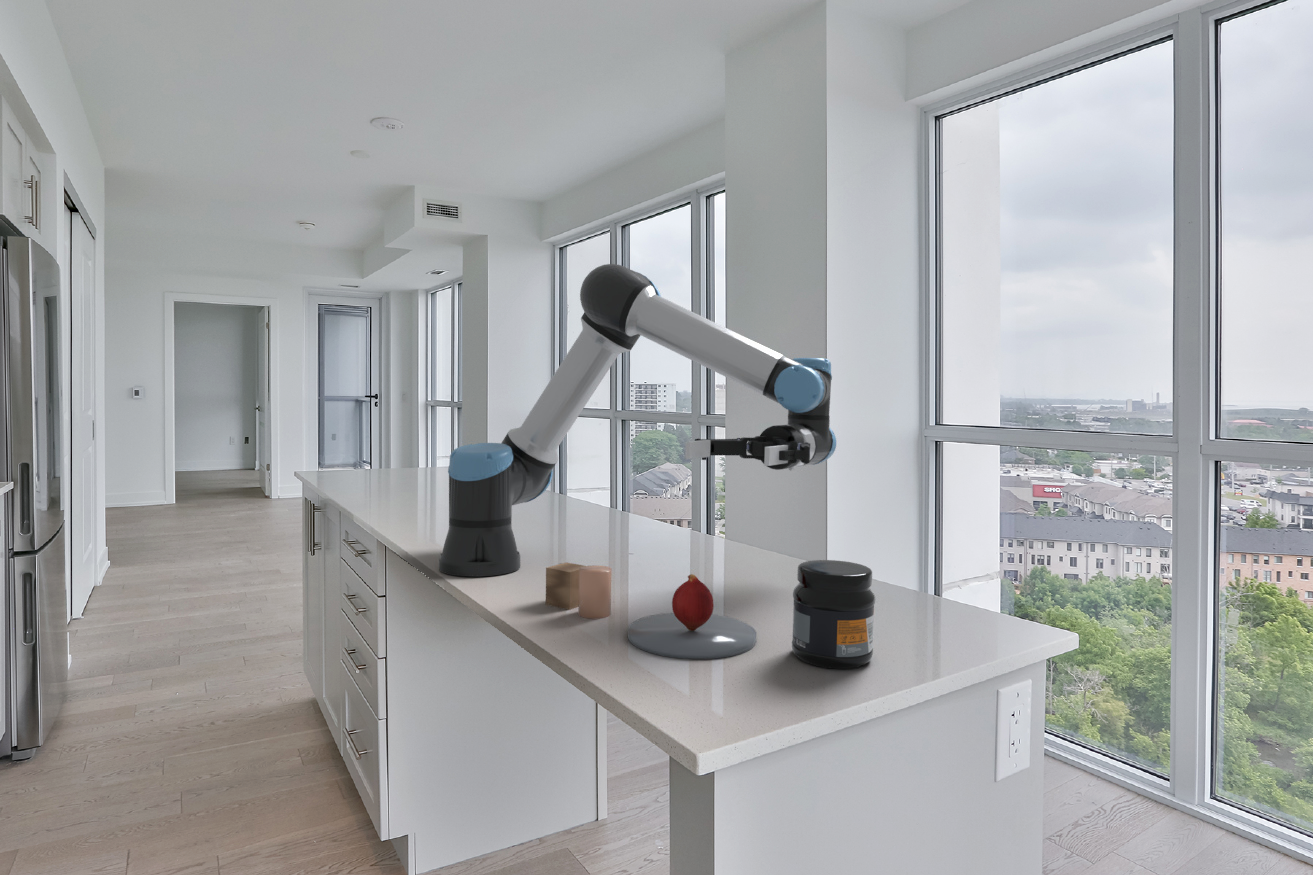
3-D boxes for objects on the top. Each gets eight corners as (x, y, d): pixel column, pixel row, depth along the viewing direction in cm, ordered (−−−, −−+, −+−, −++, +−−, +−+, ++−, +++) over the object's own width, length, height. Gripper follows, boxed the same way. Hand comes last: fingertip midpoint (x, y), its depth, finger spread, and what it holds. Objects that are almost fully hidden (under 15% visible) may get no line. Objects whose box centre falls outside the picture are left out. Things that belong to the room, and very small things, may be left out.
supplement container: (889, 666, 101) (893, 573, 100) (818, 675, 97) (821, 579, 97) (842, 641, 111) (845, 556, 110) (776, 648, 107) (779, 561, 106)
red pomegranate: (691, 621, 115) (692, 567, 115) (721, 630, 111) (722, 574, 111) (663, 629, 111) (664, 573, 111) (693, 639, 107) (694, 581, 107)
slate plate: (601, 641, 109) (602, 634, 108) (671, 612, 124) (671, 605, 124) (717, 668, 99) (717, 661, 99) (777, 633, 114) (777, 626, 114)
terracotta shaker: (571, 614, 121) (572, 569, 121) (591, 607, 125) (592, 563, 125) (597, 620, 118) (598, 574, 118) (617, 613, 123) (618, 568, 122)
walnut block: (545, 604, 127) (546, 567, 126) (565, 598, 131) (566, 562, 130) (569, 609, 124) (570, 572, 123) (589, 603, 128) (590, 566, 128)
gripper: (854, 474, 130) (802, 485, 112) (721, 463, 144) (656, 471, 126) (856, 428, 129) (804, 432, 112) (722, 421, 143) (657, 424, 126)
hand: (725, 453), depth 119 cm, fingers open, 13 cm apart
